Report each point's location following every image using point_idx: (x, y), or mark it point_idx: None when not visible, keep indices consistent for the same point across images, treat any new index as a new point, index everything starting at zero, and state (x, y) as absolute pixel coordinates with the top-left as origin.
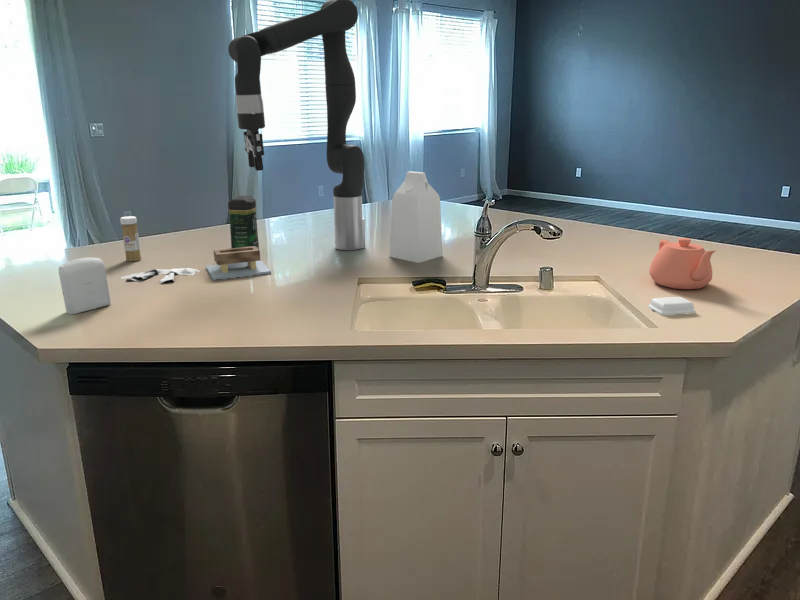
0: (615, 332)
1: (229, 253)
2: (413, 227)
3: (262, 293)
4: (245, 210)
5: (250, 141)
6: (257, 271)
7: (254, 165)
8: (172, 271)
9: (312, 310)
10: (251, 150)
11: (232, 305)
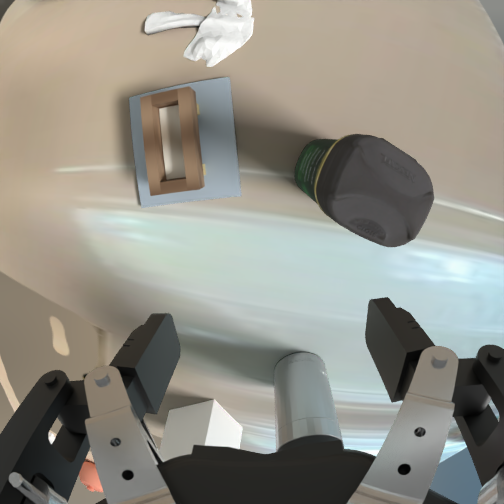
0: (12, 394)
1: (142, 125)
2: (166, 446)
3: (50, 185)
4: (316, 191)
5: (109, 499)
6: (145, 181)
7: (369, 333)
8: (203, 21)
9: (5, 240)
10: (123, 407)
11: (22, 146)
